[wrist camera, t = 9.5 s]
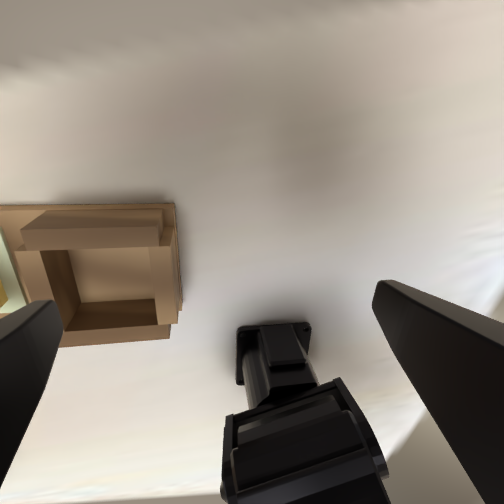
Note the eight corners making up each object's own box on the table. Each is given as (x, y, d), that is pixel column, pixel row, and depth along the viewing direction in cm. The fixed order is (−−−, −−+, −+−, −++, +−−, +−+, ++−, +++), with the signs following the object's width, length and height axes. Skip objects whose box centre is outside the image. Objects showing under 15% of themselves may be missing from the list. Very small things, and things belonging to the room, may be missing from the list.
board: (182, 302, 23) (181, 313, 22) (-70, 318, 21) (-86, 331, 20) (174, 203, 20) (172, 209, 19) (-131, 207, 17) (-155, 214, 16)
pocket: (180, 310, 22) (178, 337, 20) (66, 317, 21) (47, 348, 19) (172, 208, 19) (168, 226, 16) (35, 211, 18) (6, 230, 15)
